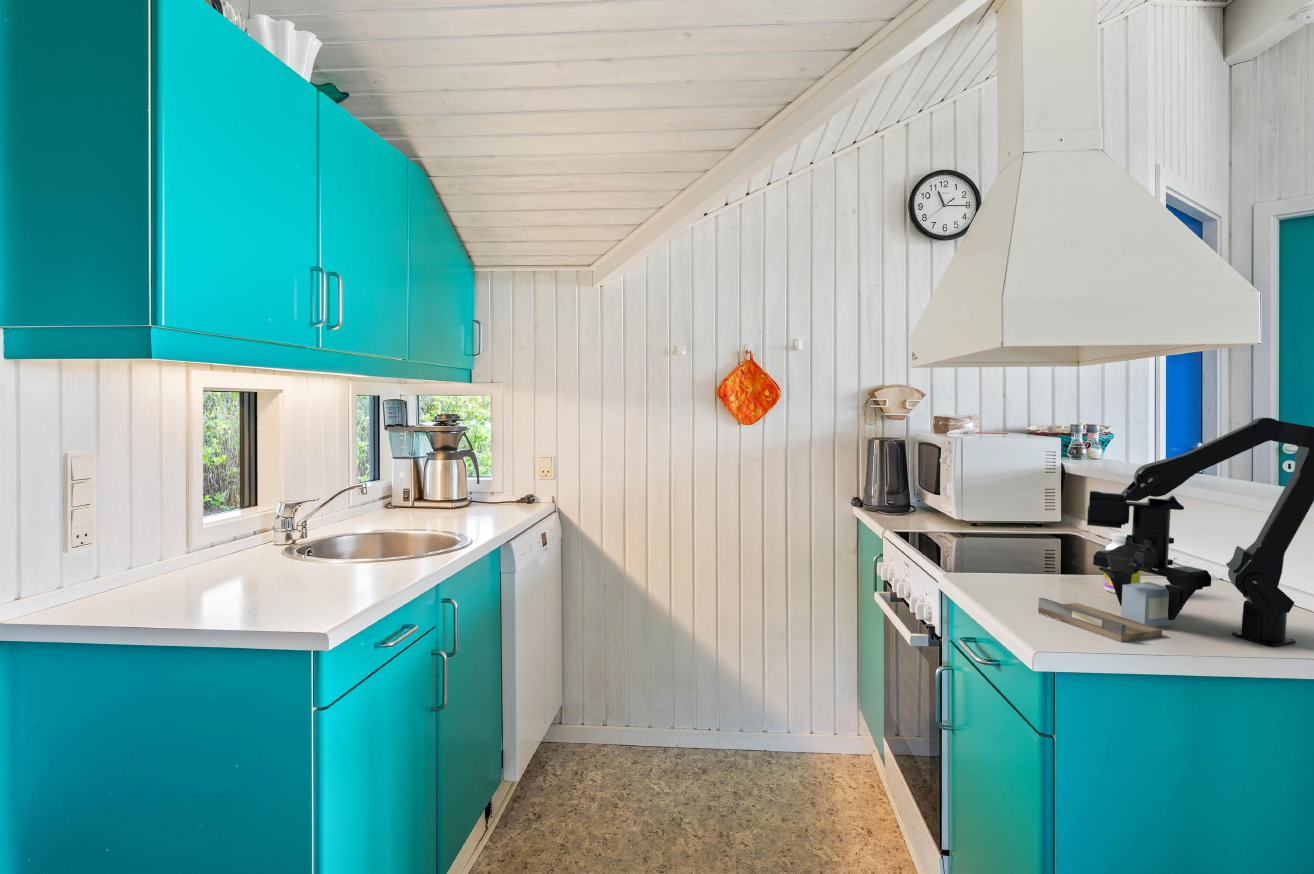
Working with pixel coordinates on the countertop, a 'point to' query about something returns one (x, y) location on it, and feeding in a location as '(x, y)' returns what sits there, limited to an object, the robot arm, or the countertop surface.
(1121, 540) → the supplement bottle
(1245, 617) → the robot arm
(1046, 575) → the countertop surface
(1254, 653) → the countertop surface
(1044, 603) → the shelf board
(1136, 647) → the countertop surface
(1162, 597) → the carton
